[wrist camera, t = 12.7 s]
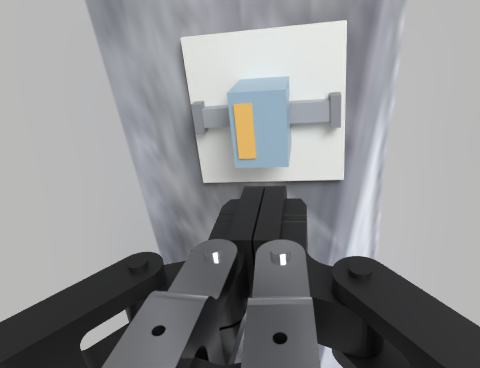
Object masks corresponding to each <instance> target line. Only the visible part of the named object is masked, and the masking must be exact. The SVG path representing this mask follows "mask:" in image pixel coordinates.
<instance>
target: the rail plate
mask: <svg viewBox="0 0 480 368" xmlns="http://www.w3.org/2000/svg"><path fill="white" fill-rule="evenodd" d="M180 39H181V45H182V52H183V58H184V64H185V71H186V77H187V83H188V89H189V96H190V102H191V108H192V115H193V121H194V127H195V133H196V140H197V146H198V152H199V158H200V165H201V171H202V177H203V183H217V182H262V181H308V180H344V144H345V91H346V39H347V20H343V21H333V22H324V23H314V24H304V25H295V26H285V27H275V28H266V29H256V30H246V31H237V32H227V33H217V34H208V35H198V36H188V37H181V38H180ZM282 76H289V86H290V96H289V108H290V127H291V138H292V145H291V153H290V161H289V167H265V168H235V163H234V154H233V145H232V135H231V126H230V117H229V108H228V99H227V92H228V91H229V90H230V89H231V88H232V87H233V86H234V85H235V84H236V83H237V82H238V81H239V80H240V79H254V78H268V77H282Z"/></svg>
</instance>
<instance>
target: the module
mask: <svg viewBox="0 0 480 368" xmlns="http://www.w3.org/2000/svg"><path fill="white" fill-rule="evenodd" d="M289 96H290V86H289V76H282V77H268V78H254V79H240V80H239V81H238V82H237V83H236V84H235V85H234V86H233V87H232V88H231V89H230V90H229V91H228V92H227V99H228V108H229V117H230V126H231V135H232V145H233V154H234V163H235V168H265V167H289V161H290V153H291V145H292V138H291V127H290V108H289Z"/></svg>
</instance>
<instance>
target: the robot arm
mask: <svg viewBox="0 0 480 368" xmlns="http://www.w3.org/2000/svg"><path fill="white" fill-rule="evenodd" d="M307 249H308V240H307V206H306V204H305V203H304V202H303V201H302V200H301V199H287V188H286V185H284V186H266V187H265V186H245V187H244V190H243V193H242V196H241V198H240V199H231V200H230V201H228V202H227V203H226V204H225V205H224V206H222V209H221V211H220V213H219V216H218V218H217V220H216V223H215V225H214V227H213V230H212V232H211V234H210V237H209V239H208V241H205V242H202V243H200V244H198V245H197V246H196V247H195V248H193V250H192V251H191V253H190V254H189V256H188V258H187V260H186V261H182V262H177V263H172V264H167V265H164V263H163V259H162V257H161V256H160V255H158V254H157V253H153V252H141V253H137V254H133V255H131V256H129V257H127V258H125V259H123V260H121V261H119V262H117V263H115V264H113V265H111V266H109V267H107V268H105V269H103V270H101V271H99V272H97V273H95V274H93V275H91V276H90V277H88V278H86V279H84V280H82V281H80V282H78V283H76V284H74V285H72V286H70V287H68V288H66V289H64V290H62V291H60V292H58V293H56V294H54V295H52V296H51V297H49V298H47V299H45V300H43V301H41V302H39V303H37V304H35V305H33V306H31V307H29V308H27V309H25V310H23V311H21V312H19V313H17V314H16V315H14V316H12V317H10V318H8V319H6V320H4V321H2V322H0V368H320V360H319V351H318V344H321V345H324V346H326V347H329V348H332V353H333V356H334V358H335V359H336V360H337V362H338V363H339V364H340V365H341V366H342V367H343V368H480V327H479V326H478V325H476V324H475V323H473V322H472V321H470V320H468V319H467V318H465V317H464V316H462V315H460V314H459V313H457V312H456V311H454V310H453V309H451V308H450V307H448V306H446V305H445V304H443V303H442V302H440V301H439V300H437V299H436V298H434V297H433V296H431V295H429V294H428V293H426V292H425V291H423V290H422V289H420V288H419V287H417V286H415V285H414V284H412V283H411V282H409V281H408V280H406V279H405V278H403V277H401V276H400V275H398V274H397V273H395V272H393V271H392V270H390V269H389V268H387V267H386V266H384V265H383V264H381V263H380V262H378V261H376V260H374V259H371V258H367V257H361V256H351V257H346V258H343V259H341V260H339V261H337V262H336V263H335V264H334V266H328V265H325V264H322V263H319V262H317V261H316V260H314V259H313V258H311V257H310V256H309V254H308V253H307ZM123 310H126V313H127V317H128V320H129V323H128V324H126V325H125V326H123V327H122V328H120V329H118V330H117V331H115V332H114V333H112V334H110V335H109V336H107V337H106V338H104V339H102V340H101V341H99V342H98V343H96V344H94V345H93V346H91V347H90V348H88V349H86V350H83V351H81V349H80V343H81V340H82V338H83V337H84V335H85V334H86V333H87V332H89V331H90V330H92V329H93V328H95V327H97V326H98V325H100V324H102V323H103V322H105V321H107V320H108V319H110V318H112V317H113V316H115V315H117V314H118V313H120V312H122V311H123ZM246 310H247V312H246ZM245 313H246V315H245ZM244 329H245V331H244ZM243 333H244V341H243V351H242V360H241V363H236V364H234V363H235V360H236V356H237V353H238V350H239V346H240V343H241V339H242V336H243Z"/></svg>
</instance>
